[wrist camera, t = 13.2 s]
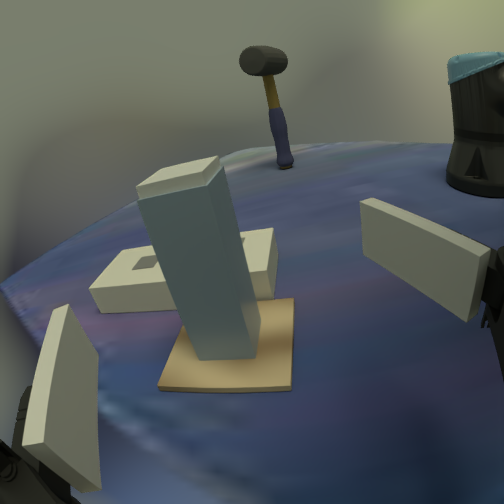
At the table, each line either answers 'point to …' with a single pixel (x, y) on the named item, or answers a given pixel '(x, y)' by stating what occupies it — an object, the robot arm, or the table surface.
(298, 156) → the table surface
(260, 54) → the rubber mallet
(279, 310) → the coaster
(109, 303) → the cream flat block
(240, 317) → the pale grey tall block
